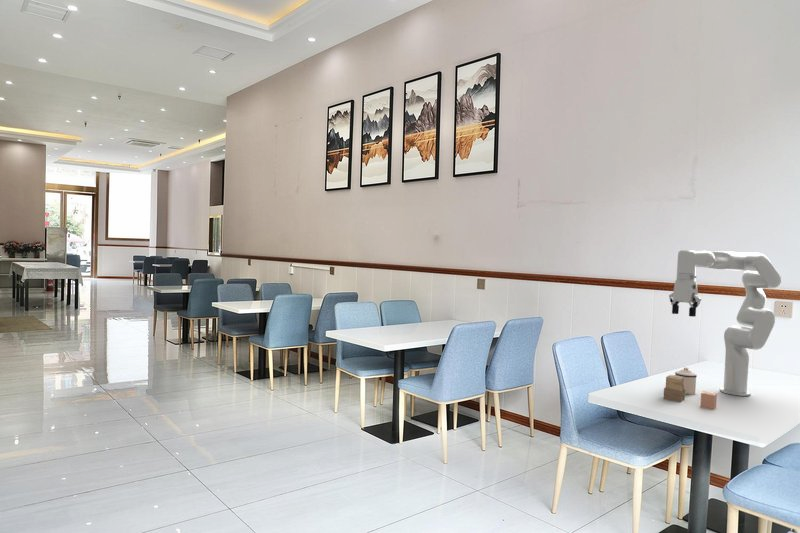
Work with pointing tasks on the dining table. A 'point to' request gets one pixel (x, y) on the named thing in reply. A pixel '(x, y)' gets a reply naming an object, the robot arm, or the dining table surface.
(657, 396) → the dining table surface
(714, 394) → the terracotta block
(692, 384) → the teacup with lid
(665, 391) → the tower base
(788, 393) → the dining table surface
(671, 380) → the block
